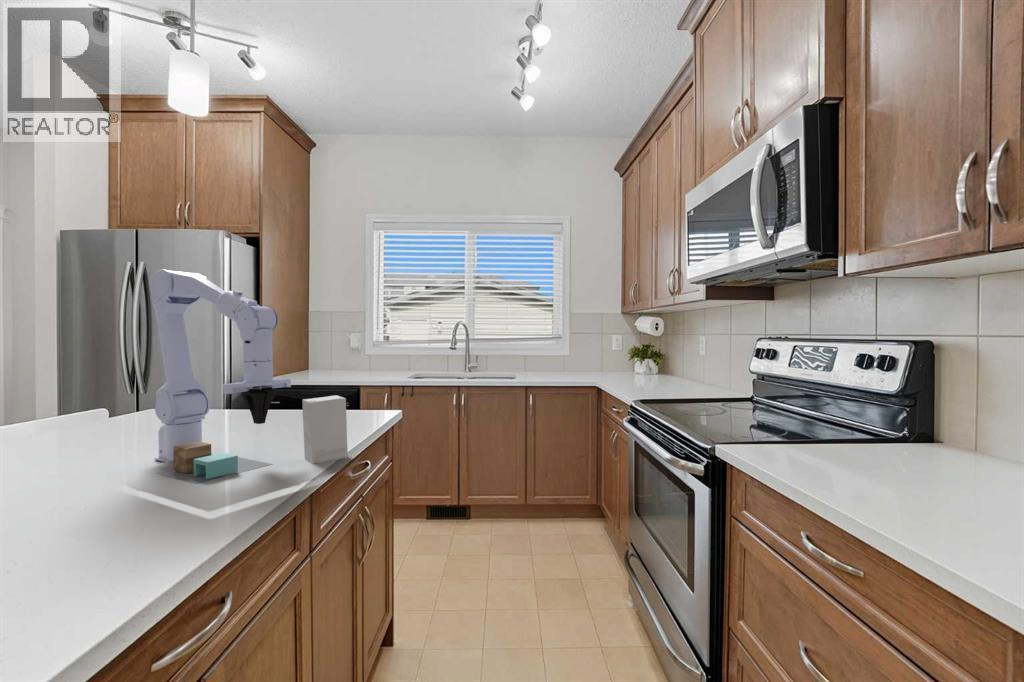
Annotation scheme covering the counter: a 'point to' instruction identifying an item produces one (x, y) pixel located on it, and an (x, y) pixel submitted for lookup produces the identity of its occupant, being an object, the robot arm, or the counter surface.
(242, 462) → the slate board
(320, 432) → the skincare box
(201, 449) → the jaw block
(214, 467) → the housing cover
